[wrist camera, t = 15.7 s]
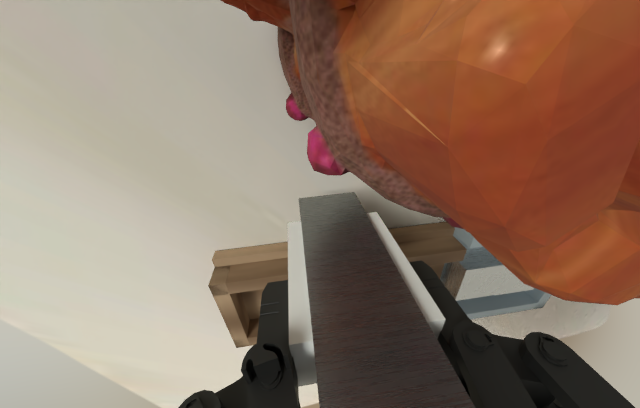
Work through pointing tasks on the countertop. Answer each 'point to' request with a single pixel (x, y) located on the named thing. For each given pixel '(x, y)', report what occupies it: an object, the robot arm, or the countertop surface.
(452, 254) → the slot board
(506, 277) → the chip
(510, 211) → the mug
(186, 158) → the countertop surface
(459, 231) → the tray
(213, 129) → the countertop surface
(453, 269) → the chip
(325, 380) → the grey and tan block
